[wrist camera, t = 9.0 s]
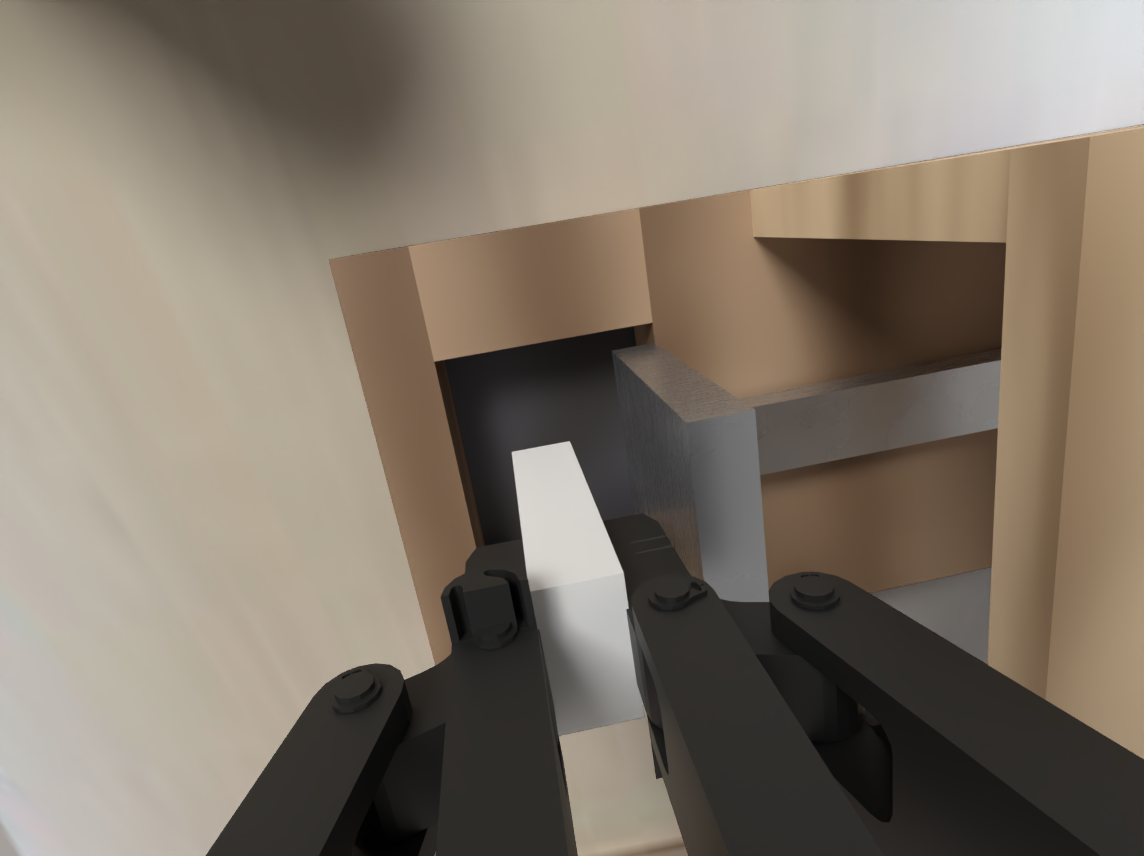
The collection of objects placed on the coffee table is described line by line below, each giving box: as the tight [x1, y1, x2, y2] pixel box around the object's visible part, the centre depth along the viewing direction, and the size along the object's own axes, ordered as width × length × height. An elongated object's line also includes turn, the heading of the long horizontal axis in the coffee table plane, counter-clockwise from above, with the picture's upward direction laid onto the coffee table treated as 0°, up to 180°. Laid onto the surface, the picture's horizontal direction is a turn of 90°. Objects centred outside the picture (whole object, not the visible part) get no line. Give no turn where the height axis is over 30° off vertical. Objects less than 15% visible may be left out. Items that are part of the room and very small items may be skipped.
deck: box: [329, 124, 1144, 666], centre depth 21 cm, size 32×13×3 cm, turn 99°
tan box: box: [750, 125, 1144, 759], centre depth 15 cm, size 10×13×10 cm
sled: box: [612, 343, 1002, 602], centre depth 16 cm, size 16×8×7 cm, turn 99°
